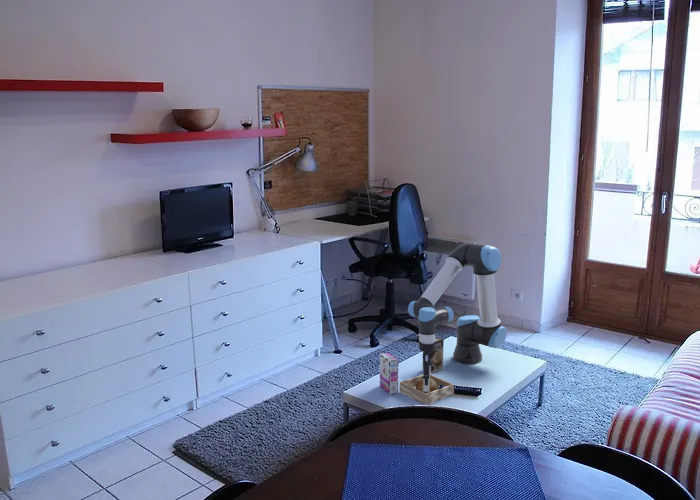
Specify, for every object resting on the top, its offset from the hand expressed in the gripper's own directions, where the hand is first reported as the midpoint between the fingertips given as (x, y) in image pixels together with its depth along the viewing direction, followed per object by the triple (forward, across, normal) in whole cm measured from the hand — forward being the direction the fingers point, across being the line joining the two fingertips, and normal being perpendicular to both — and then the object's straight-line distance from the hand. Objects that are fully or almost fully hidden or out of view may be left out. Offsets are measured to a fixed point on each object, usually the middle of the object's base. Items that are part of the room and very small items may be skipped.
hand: (426, 385), depth 285 cm
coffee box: (+4, -29, +2) cm, 29 cm away
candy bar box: (+4, -2, -18) cm, 18 cm away
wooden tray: (+4, 0, 0) cm, 4 cm away
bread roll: (+3, 0, 0) cm, 3 cm away
